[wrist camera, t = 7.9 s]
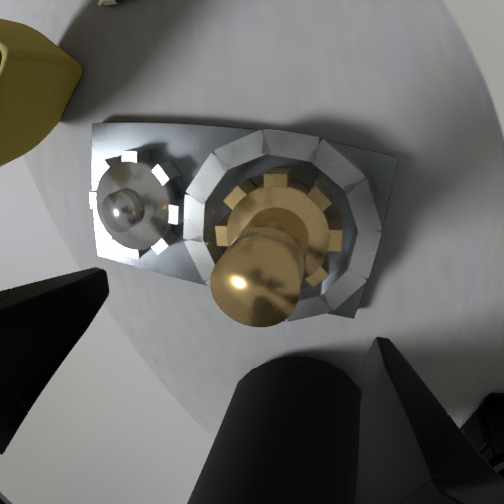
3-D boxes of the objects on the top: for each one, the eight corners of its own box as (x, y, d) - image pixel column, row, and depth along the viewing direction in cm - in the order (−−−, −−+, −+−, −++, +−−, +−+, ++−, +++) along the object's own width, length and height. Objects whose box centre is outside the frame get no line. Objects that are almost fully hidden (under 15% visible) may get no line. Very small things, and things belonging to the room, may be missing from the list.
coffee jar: (222, 400, 26) (145, 567, 10) (269, 328, 21) (167, 587, 5) (320, 439, 26) (284, 601, 10) (390, 380, 21) (381, 607, 5)
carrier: (395, 153, 15) (405, 157, 12) (352, 312, 19) (353, 335, 17) (101, 119, 18) (77, 122, 16) (105, 252, 22) (86, 266, 20)
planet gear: (342, 169, 15) (353, 203, 9) (337, 279, 17) (335, 364, 11) (223, 169, 16) (158, 201, 10) (231, 273, 19) (185, 346, 13)
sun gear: (192, 152, 16) (169, 158, 14) (187, 259, 19) (167, 278, 17) (102, 146, 18) (75, 152, 15) (106, 239, 21) (82, 253, 18)
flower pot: (113, 59, 16) (7, 51, 8) (64, 155, 20) (-29, 184, 12) (59, 20, 15) (-27, 13, 7) (20, 105, 19) (-59, 119, 11)
